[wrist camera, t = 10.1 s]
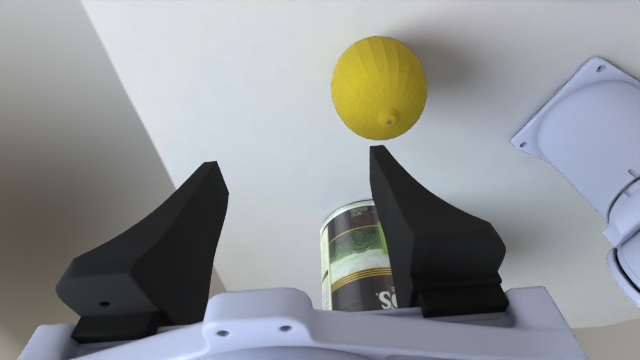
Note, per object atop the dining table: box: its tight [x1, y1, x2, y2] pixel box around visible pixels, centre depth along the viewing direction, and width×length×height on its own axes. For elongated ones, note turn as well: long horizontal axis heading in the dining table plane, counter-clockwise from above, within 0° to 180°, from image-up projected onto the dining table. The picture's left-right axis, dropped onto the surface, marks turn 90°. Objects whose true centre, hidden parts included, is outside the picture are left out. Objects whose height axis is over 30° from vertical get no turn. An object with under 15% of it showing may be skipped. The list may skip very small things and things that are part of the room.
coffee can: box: [320, 200, 398, 312], centre depth 29 cm, size 10×10×14 cm
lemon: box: [331, 36, 427, 140], centre depth 20 cm, size 6×6×8 cm
